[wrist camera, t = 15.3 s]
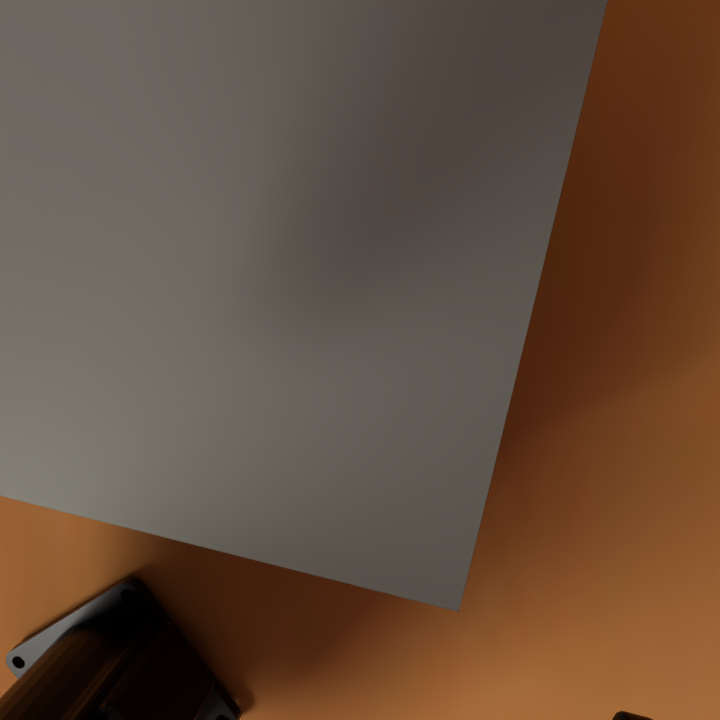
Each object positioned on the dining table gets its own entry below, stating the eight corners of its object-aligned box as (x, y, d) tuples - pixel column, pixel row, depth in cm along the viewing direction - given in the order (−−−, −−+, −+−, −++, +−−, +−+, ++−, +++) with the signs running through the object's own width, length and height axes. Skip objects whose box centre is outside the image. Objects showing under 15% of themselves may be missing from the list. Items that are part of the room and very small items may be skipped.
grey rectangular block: (-122, 332, 22) (-404, 393, 15) (-129, -65, 19) (-484, -221, 12) (464, 464, 20) (458, 611, 13) (563, 37, 17) (627, -82, 10)
